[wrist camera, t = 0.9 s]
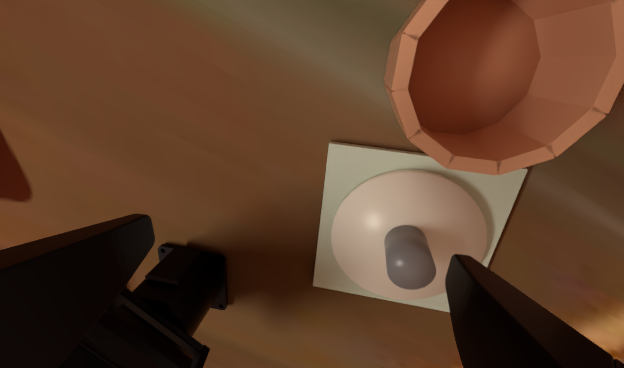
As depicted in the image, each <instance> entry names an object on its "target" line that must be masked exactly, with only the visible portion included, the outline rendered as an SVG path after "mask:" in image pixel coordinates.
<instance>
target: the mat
mask: <svg viewBox="0 0 624 368" xmlns="http://www.w3.org/2000/svg"><path fill="white" fill-rule="evenodd" d="M399 169H418V170H425V171H430V172H434V173H437V174H440V175H442V176H444V177H447V178H449V179H451V180H452V181H454V182H455V183H457V184H458V185H460V186H461V187H462V188H463V189H464V190H465V191H467V192H468V194H469V195H470V196H471V197H472V199H473V200H474V201H475V202H476V204H477V205H478V207H479V208H480V210H481V212H482V214H483V217H484V219H485V222H486V227H487V244H486V249H485V252H484V255H483V258H482V260H481V262H480V263H481V264H483V265H484V266H485V267H487V266H488V264H489V262H490V259H491V257H492V254H493V252H494V250H495V247H496V245H497V242H498V240H499V238H500V235H501V233H502V230H503V228H504V226H505V223H506V221H507V218H508V216H509V214H510V211H511V209H512V207H513V204H514V202H515V199H516V197H517V195H518V192H519V190H520V187H521V185H522V183H523V180H524V178H525V175H526V173H527V171H528V169H527V168H522V169H518V170H515V171H512V172H509V173H505V174H502V175H498V174H497V176H496V175H488V174H481V173H474V172H466V171H459V170H452V169H447V168H444V167H443V166H442V165H440V164H439V163H438V162H437V161H435V160H434V159H433V158H431V157H430V156H429V155H427V154H425V153H417V152H409V151H402V150H394V149H386V148H379V147H371V146H363V145H356V144H348V143H340V142H333V141H330V143H329V149H328V158H327V167H326V175H325V184H324V193H323V201H322V210H321V219H320V227H319V236H318V245H317V253H316V262H315V271H314V279H313V286H316V287H321V288H326V289H331V290H336V291H342V292H347V293H352V294H357V295H362V296H368V297H373V298H378V299H383V300H388V301H394V302H399V303H404V304H409V305H414V306H420V307H425V308H430V309H435V310H441V311H446V312H450V310H449V304H448V299H447V293H446V292H445V293H442V294H440V295H437V296H433V297H429V298H424V299H417V300H399V299H392V298H387V297H383V296H380V295H377V294H374V293H372V292H370V291H368V290H366V289H364V288H362V287H361V286H359V285H358V284H356V283H355V282H354V281H352V280H351V279H350V278H349V277H348V276H347V275H346V274H345V273H344V271H343V270H342V269H341V267H340V266H339V264H338V262H337V260H336V258H335V256H334V253H333V249H332V243H331V230H332V225H333V220H334V216H335V214H336V211H337V209H338V207H339V205H340V203H341V202H342V200H343V199H344V198H345V197H346V195H347V194H348V193H349V192H350V191H351V190H352V189H353V188H355V187H356V186H357V185H359V184H360V183H361V182H363V181H365V180H367V179H368V178H370V177H373V176H375V175H377V174H380V173H384V172H387V171H392V170H399Z"/></svg>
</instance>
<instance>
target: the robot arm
mask: <svg viewBox="0 0 624 368" xmlns="http://www.w3.org/2000/svg"><path fill="white" fill-rule="evenodd" d="M154 241H155V235H154V230H153V226H152V221H151V218H150V217H149V216H148V215H144V214H132V215H128V216H124V217H121V218H117V219H113V220H110V221H106V222H102V223H98V224H95V225H91V226H87V227H84V228H80V229H76V230H73V231H69V232H65V233H61V234H58V235H54V236H50V237H47V238H43V239H39V240H36V241H32V242H28V243H25V244H21V245H17V246H13V247H10V248H6V249H2V250H0V368H203V366H204V363H205V361H206V358H207V355H208V353H209V350H210V348H208V347H207V346H206V345H204V346H203V345H202V344H201V343H199V342H198V341H197V340H195V339H194V338H193V337H192V336H193V334H194V333H195V331H196V329H197V328H198V326H199V325H200V323H201V321H202V320H203V318H204V317H205V315H206V314H207V312H208V310H209V309H210V308H214V309H219V310H225V309H226V307H227V305H228V300H227V275H226V258H225V257H224V256H223V255H221V254H216V253H211V252H206V251H200V250H195V249H190V248H184V247H179V246H173V245H168V244H162V245H161V246H160V247H159V248H158V254H159V260H160V262H159V263H158V264H157V265H156V266H155V267H154V268H153V269H152V270H151V271H150V272H149V273H148V274H147V275H146V276H145V280H144V281H143V282H142V283H141V284H140V285H139V286H138V287H137V288H136V289H135V290H134V291H133V292H131V291H130V290H129V289H127V288H126V287H127V286H126V284H127V283H128V281H129V280H130V279H131V277H132V276H133V274H134V273H135V271H136V270H137V268H138V267H139V265H140V264H141V262H142V261H143V260H144V258H145V257H146V255H147V254H148V252H149V251H150V249H151V248H152V246H153V244H154ZM219 259H220V260H221V261H220V260H219ZM445 288H446V293H447V299H448V304H449V310H450V315H451V321H452V326H453V331H454V336H455V341H456V344H457V348H458V351H459V355H460V358H461V361H462V365H463V368H624V364H623V363H622V362H620V361H619V360H617V359H614V360H613V357H612V355H610V354H609V353H607V352H606V351H605V350H603V349H602V348H600V347H599V346H597V345H596V344H595V343H593V342H592V341H590V340H589V339H588V338H586V337H585V336H583V335H582V334H580V333H579V332H578V331H576V330H575V329H573V328H572V327H571V326H569V325H568V324H566V323H565V322H563V321H562V320H561V319H559V318H558V317H556V316H555V315H553V314H552V313H551V312H549V311H548V310H546V309H545V308H544V307H542V306H541V305H539V304H538V303H536V302H535V301H534V300H532V299H531V298H529V297H528V296H527V295H525V294H524V293H522V292H521V291H519V290H518V289H517V288H515V287H514V286H512V285H511V284H509V283H508V282H507V281H505V280H504V279H502V278H501V277H500V276H498V275H497V274H495V273H494V272H492V271H491V270H490V269H488V268H487V267H485V266H484V265H483V264H481V263H480V262H478V261H477V260H475V259H474V258H473V257H471V256H469V255H462V254H454V255H452V257H451V260H450V263H449V267H448V270H447V274H446V278H445Z"/></svg>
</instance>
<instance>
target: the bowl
mask: <svg viewBox="0 0 624 368" xmlns="http://www.w3.org/2000/svg"><path fill="white" fill-rule="evenodd" d="M623 83H624V0H422V1H421V2H420V3H419V4H418V5H417V7H416V8H415V9H414V11H413V12H412V14H411V15H410V16H409V18H408V19H407V20H406V22H405V23H404V24H403V26H402V27H401V28H400V30H399V31H398V32H397V34H396V35H395V36H394V38H393V39H392V42H391V44H390V49H389V55H388V61H387V66H386V72H385V77H384V85H385V88H386V91H387V94H388V97H389V99H390V102H391V105H392V108H393V111H394V113H395V116H396V118H397V120H398V122H399V124H400V125H401V127H402V129H403V131H404V133H405V135H406V136H407V138H408V140H409V141H411V142H412V143H413V144H415V145H416V146H417V147H418V148H420V149H421V150H422V151H424V152H425V153H426V154H427V155H429V156H430V157H431V158H433V159H434V160H435V161H437V162H438V163H439V164H440V165H442V166H443V167H444V168H447V169H452V170H459V171H466V172H474V173H481V174H488V175H496V176H497V174H498V175H502V174H505V173H509V172H512V171H515V170H518V169H522V168H525V167H528V166H531V165H534V164H538V163H541V162H544V161H547V160H551V159H554V156H556V157H557V156H559V155H560V154H561V153H562V152H563V151H565V150H566V149H567V148H568V147H570V146H571V145H572V144H573V143H574V142H576V141H577V140H578V139H579V138H580V137H582V136H583V135H584V134H585V133H587V132H588V131H589V130H590V129H591V128H593V127H594V126H595V125H596V124H597V123H599V122H600V121H601V120H602V119H603V118H605V117H606V115H605V114H604V113H608V114H609V112H610V110H611V108H612V105H613V103H614V101H615V99H616V97H617V95H618V93H619V91H620V89H621V87H622V85H623Z"/></svg>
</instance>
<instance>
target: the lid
mask: <svg viewBox="0 0 624 368" xmlns="http://www.w3.org/2000/svg"><path fill="white" fill-rule="evenodd" d="M331 243H332V249H333V253H334V256H335V258H336V260H337V262H338V264H339V266H340V267H341V269H342V270H343V271H344V273H345V274H346V275H347V276H348V277H349V278H350V279H351V280H352V281H354V282H355V283H356V284H358V285H359V286H361V287H362V288H364V289H366V290H368V291H370V292H372V293H374V294H377V295H380V296H383V297H387V298H392V299H399V300H417V299H424V298H429V297H433V296H437V295H440V294H442V293H445V292H446V288H445V278H446V274H447V270H448V267H449V263H450V260H451V257H452V255H454V254H462V255H469V256H471V257H473V258H474V259H475V260H477V261H478V262H481V260H482V258H483V255H484V252H485V249H486V244H487V227H486V222H485V219H484V217H483V214H482V212H481V210H480V208H479V207H478V205H477V204H476V202H475V201H474V200H473V199H472V197H471V196H470V195H469V194H468V192H467V191H465V190H464V189H463V188H462V187H461V186H460V185H458V184H457V183H455V182H454V181H452V180H451V179H449V178H447V177H444V176H442V175H440V174H437V173H434V172H430V171H425V170H418V169H399V170H392V171H387V172H384V173H380V174H377V175H375V176H373V177H370V178H368V179H367V180H365V181H363V182H361V183H360V184H359V185H357V186H356V187H355V188H353V189H352V190H351V191H350V192H349V193H348V194H347V195H346V197H345V198H344V199H343V200H342V202H341V203H340V205H339V207H338V209H337V211H336V214H335V216H334V220H333V225H332V230H331Z"/></svg>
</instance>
